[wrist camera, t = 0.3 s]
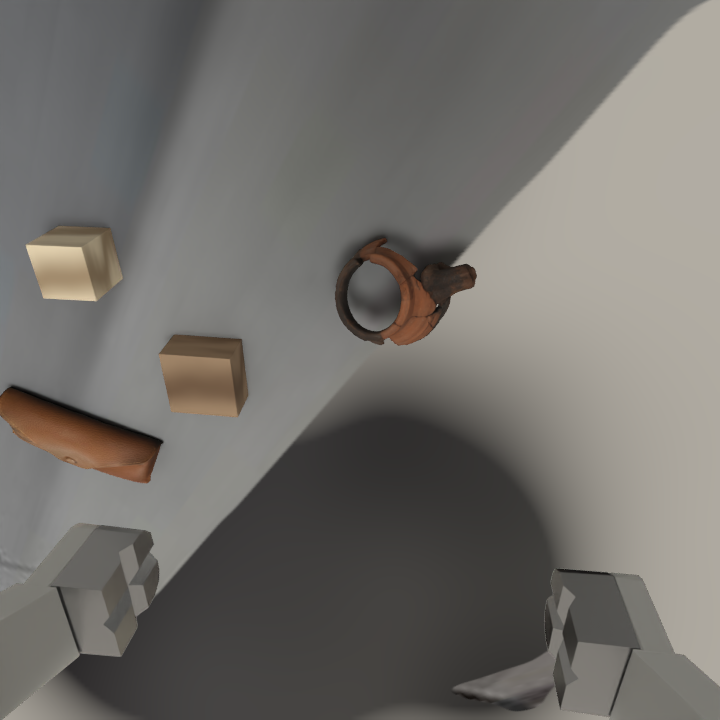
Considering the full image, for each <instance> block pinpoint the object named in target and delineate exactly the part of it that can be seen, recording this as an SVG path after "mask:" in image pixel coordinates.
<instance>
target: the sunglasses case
mask: <svg viewBox="0 0 720 720" xmlns="http://www.w3.org/2000/svg"><path fill="white" fill-rule="evenodd" d="M0 416H1V417H2V418H3V419H4V420H5V421H7V422H8V423H9V424H10V426H11V427H12V429H13V433H15V434H16V435H17V436H18V437H19V438H20V439H22V440H24V441H26V442H28V443H30V444H32V445H34V446H36V447H38V448H40V449H43V450H45V451H47V452H49V453H51V454H53V455H54V456H55V457H57V458H58V459H60V460H62V461H65V462H67V463H70V464H73V465H76V466H78V467H81V468H85V469H91V468H93V469H96V470H99V471H101V472H104V473H107V474H109V475H113V476H116V477H120V478H123V479H127V480H131V481H134V482H140V483H148V482H149V481H150V480H151V479H150V477H151V476H150V475H151V473H152V470H153V467H154V464H155V462H156V459H157V455H158V452H159V449H160V446H161V444H162V442H159V441H158V440H156V439H153V438H150V437H147V436H144V435H141V434H137V433H134V432H131V431H128V430H123V429H121V428H119V427H115V426H112V425H108V424H104V423H102V422H100V421H98V420H95V419H92V418H90V417H87V416H85V415H82V414H79V413H76V412H73V411H70V410H67V409H65V408H63V407H60V406H58V405H55V404H52V403H50V402H47V401H44V400H41V399H39V398H36V397H34V396H31V395H29V394H26V393H23V392H21V391H19V390H16V389H13V388H12V387H9V388H7V389H6V390H5V391H4V392H3V394H2V395H1V396H0Z"/></svg>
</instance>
